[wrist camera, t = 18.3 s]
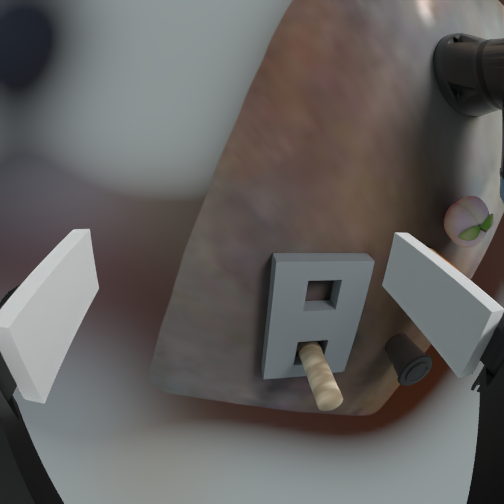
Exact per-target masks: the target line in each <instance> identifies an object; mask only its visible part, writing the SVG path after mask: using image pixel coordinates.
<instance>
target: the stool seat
mask: <svg viewBox="0 0 504 504" xmlns="http://www.w3.org/2000/svg"><path fill="white" fill-rule="evenodd" d="M374 263H375V261H374V260H373V259H372V258H371V257H370V256H369V255H368V254H367V253H273V255H272V266H271V276H270V287H269V297H268V307H267V317H266V326H265V336H264V345H263V355H262V364H261V370H262V375H263V379H276V378H289V377H300V376H307V375H306V373H305V370H304V367H303V364H302V361H301V359H300V358H299V354H296V349H297V344H298V342H307V341H320V340H321V342H320V346H321V348H322V352H323V354H324V357H325V359H326V361H327V363H328V365H329V368H330V370H331V372H332V373H336V372H344V370H345V367H346V364H347V361H348V358H349V354H350V351H351V348H352V345H353V342H354V338H355V335H356V332H357V328H358V325H359V321H360V318H361V314H362V311H363V307H364V303H365V299H366V296H367V292H368V288H369V284H370V280H371V276H372V271H373V267H374ZM319 280H334V282H333V287H332V292H331V296H330V300H320V301H305V298H306V292H307V286H308V281H319Z"/></svg>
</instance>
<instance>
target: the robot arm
mask: <svg viewBox="0 0 504 504" xmlns="http://www.w3.org/2000/svg"><path fill="white" fill-rule="evenodd" d="M434 68H435V75H436V79H437V82H438V85H439V87H440V90H441V92H442V94H443V96H444V97H445V99H446V100H447V101H448V103H449V104H450V105H451V106H452V107H453V108H454V109H455V110H457V111H458V112H460V113H462V114H465V115H471V116H481V115H485V114H488V113H491V112H494V111H497V110H500V109H501V110H502V118H503V119H502V160H501V168H500V177H501V178H500V197H501V199H502V201H503V203H504V39H492V40H485V39H482V38H479V37H475V36H472V35H468V34H463V33H457V34H451V35H447V36H445V37H444V38H443V39H441V41H440V42H439V43H438V45H437V48H436V51H435V56H434ZM382 286H383V287H384V288H385V289H386V291H387V292H388V293H389V294H390V295H391V296H392V297H393V299H394V300H395V301H396V302H397V303H398V304H399V305H400V307H401V308H402V309H403V310H404V311H405V312H406V314H407V315H408V316H409V317H410V318H411V319H412V321H413V322H414V323H415V324H416V325H417V327H418V328H419V329H420V330H421V331H422V333H423V334H424V335H425V336H426V337H427V339H428V340H429V341H430V342H431V344H432V345H433V346H434V347H435V348H436V350H437V351H438V352H439V353H440V355H441V356H442V357H443V358H444V359H445V361H446V362H447V364H448V365H449V366H450V367H451V369H452V370H453V371H454V373H455V374H456V375H457V376H458V378H461V377H464V376H467V375H470V374H473V372H474V370H475V368H476V367H477V365H478V363H479V361H482V363H483V364H484V367H483V369H482V370H481V372H480V374H479V376H478V377H477V379H476V381H475V382H474V384H473V385H472V388H471V390H474V389H475V387H476V386H477V385H480V387H479V388H478V390H477V392H480V407H479V424H478V436H477V445H476V454H475V462H474V468H473V474H472V480H471V486H470V491H469V496H468V500H467V504H504V308H502V307H501V306H500V305H499V304H498V303H497V302H496V301H494V300H493V299H492V298H491V297H490V296H489V295H487V294H486V293H485V292H484V291H483V290H481V289H480V288H479V287H478V286H477V285H475V284H474V283H473V282H472V281H471V280H469V279H468V278H467V277H466V276H464V275H463V274H462V273H461V272H459V271H458V270H457V269H456V268H454V267H453V266H452V265H450V264H449V263H448V262H447V261H445V260H444V259H443V258H441V257H440V256H439V255H437V254H436V253H435V252H433V251H432V250H431V249H429V248H428V247H427V246H425V245H424V244H423V243H421V242H420V241H418V240H417V239H416V238H414V237H413V236H411V235H410V234H409V233H398V232H395V234H394V238H393V243H392V247H391V252H390V256H389V260H388V264H387V268H386V272H385V276H384V280H383V284H382ZM98 289H99V286H98V281H97V275H96V269H95V263H94V256H93V250H92V243H91V235H90V229H74V230H72V232H71V233H69V234H68V235H67V236H66V237H65V238H64V239H63V240H62V241H61V242H60V243H59V244H58V245H57V247H55V248H54V249H53V250H52V252H51V253H50V254H49V255H48V256H47V257H46V258H45V259H44V260H43V261H42V262H41V263H40V264H39V265H38V266H37V267H36V269H35V270H34V271H33V272H32V273H31V274H30V275H29V276H28V277H27V278H26V280H25V281H24V282H23V283H22V284H21V285H18V286H17V287H15V288H14V289H12V290H11V291H9V292H8V294H6V295H5V297H4V298H3V299H2V300H1V302H0V504H64V503H63V501H62V499H61V497H60V496H59V494H58V493H57V490H56V489H55V487H54V485H53V483H52V481H51V479H50V478H49V476H48V474H47V472H46V470H45V468H44V466H43V464H42V462H41V460H40V458H39V456H38V453H37V451H36V449H35V447H34V445H33V442H32V440H31V438H30V435H29V433H28V431H27V428H26V426H25V423H24V421H23V418H22V415H21V413H20V410H19V407H18V404H17V402H16V401H15V399H14V397H13V393H14V390H15V389H16V387H18V389H19V391H20V393H21V394H22V396H23V398H24V399H25V400H29V401H34V402H38V403H43V404H44V403H45V402H46V399H47V397H48V394H49V392H50V389H51V387H52V384H53V382H54V380H55V377H56V375H57V373H58V371H59V368H60V366H61V364H62V361H63V359H64V357H65V355H66V353H67V350H68V348H69V346H70V344H71V342H72V340H73V338H74V336H75V334H76V332H77V330H78V328H79V325H80V324H81V322H82V320H83V318H84V316H85V314H86V312H87V310H88V308H89V306H90V304H91V302H92V300H93V299H94V296H95V295H96V293H97V291H98Z"/></svg>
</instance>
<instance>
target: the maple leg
mask: <svg viewBox="0 0 504 504" xmlns="http://www.w3.org/2000/svg"><path fill="white" fill-rule="evenodd" d="M297 350H298V353H299V358H300V359H301V361H302V364H303V367H304V370H305V373H306V375H307V378H308V381H309V384H310V386H311V389H312V392H313V395H314V397H315V400H316V403H317V406H318V408H319V409H320V410H322V411H329V410H333V409H335V408H337V407H338V406H339V405H340V404H341V403H342V401H343V397H342V395H341V392H340V390H339V388H338V386H337V383H336V381H335V379H334V377H333V374H332V372H331V370H330V368H329V365H328V363H327V361H326V359H325V357H324V354H323V352H322V348H321V346H320V345H319V343H318V341H307V342H298V344H297Z"/></svg>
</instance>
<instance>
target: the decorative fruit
mask: <svg viewBox="0 0 504 504" xmlns="http://www.w3.org/2000/svg"><path fill="white" fill-rule="evenodd" d="M492 223H493V214H491V215H489V211H488V208H487V206H486V205H485V203H484V202H483V201H482V200H481V199H480V198H478V197H475V196H468V197H464V198H461V199H459V200H457V201H456V202H455V203H454V204H453V205H451V206H450V207H449V208H448V209H447V211H446V214H445V217H444V228H445V231H446V233H447V234H448V236H449V237H450V238H451V240H452V241H453V242H454V243H456V244H457V245H458V246H460V247H464V248H468V247H473V246H475V245H477V244H478V243H480V242H481V241H482V240H483V239H484V237H485V236H486V234H487V232H488V229H489V228H490V227H491V226H492Z"/></svg>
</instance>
